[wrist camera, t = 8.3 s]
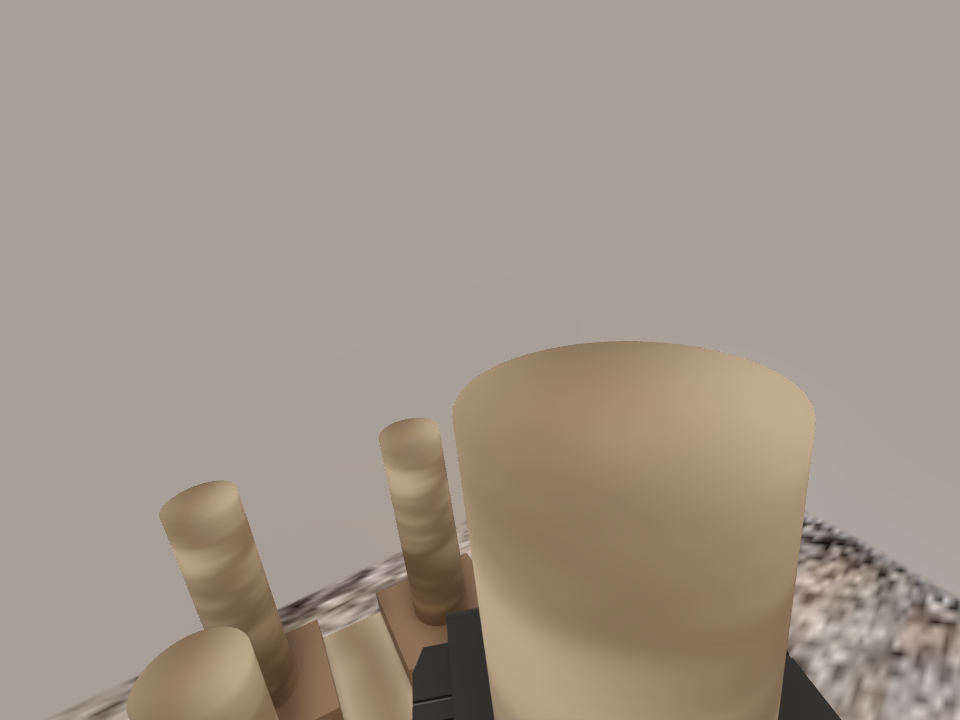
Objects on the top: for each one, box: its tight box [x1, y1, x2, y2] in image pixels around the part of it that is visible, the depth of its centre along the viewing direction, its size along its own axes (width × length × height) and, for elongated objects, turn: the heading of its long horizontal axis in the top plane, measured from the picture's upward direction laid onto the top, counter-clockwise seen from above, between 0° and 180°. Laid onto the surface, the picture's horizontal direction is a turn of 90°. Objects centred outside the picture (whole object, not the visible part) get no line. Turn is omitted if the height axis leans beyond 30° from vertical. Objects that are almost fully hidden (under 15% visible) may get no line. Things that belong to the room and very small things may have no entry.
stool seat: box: [127, 418, 479, 720], centre depth 28 cm, size 20×20×19 cm
